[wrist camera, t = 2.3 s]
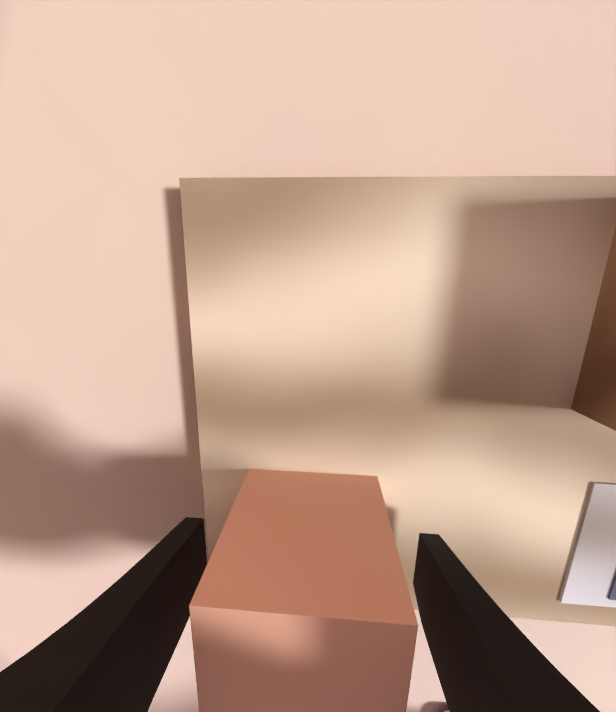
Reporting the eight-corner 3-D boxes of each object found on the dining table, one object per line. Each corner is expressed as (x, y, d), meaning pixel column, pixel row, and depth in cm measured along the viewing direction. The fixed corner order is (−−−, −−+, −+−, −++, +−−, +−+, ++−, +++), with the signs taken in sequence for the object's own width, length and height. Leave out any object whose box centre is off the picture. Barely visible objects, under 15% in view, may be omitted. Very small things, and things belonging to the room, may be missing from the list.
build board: (776, 617, 11) (818, 647, 10) (217, 573, 12) (208, 596, 11) (996, 185, 8) (1091, 171, 7) (192, 187, 9) (176, 176, 8)
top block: (368, 579, 11) (396, 776, 6) (252, 570, 11) (203, 752, 7) (377, 475, 10) (418, 625, 5) (249, 468, 10) (189, 605, 6)
